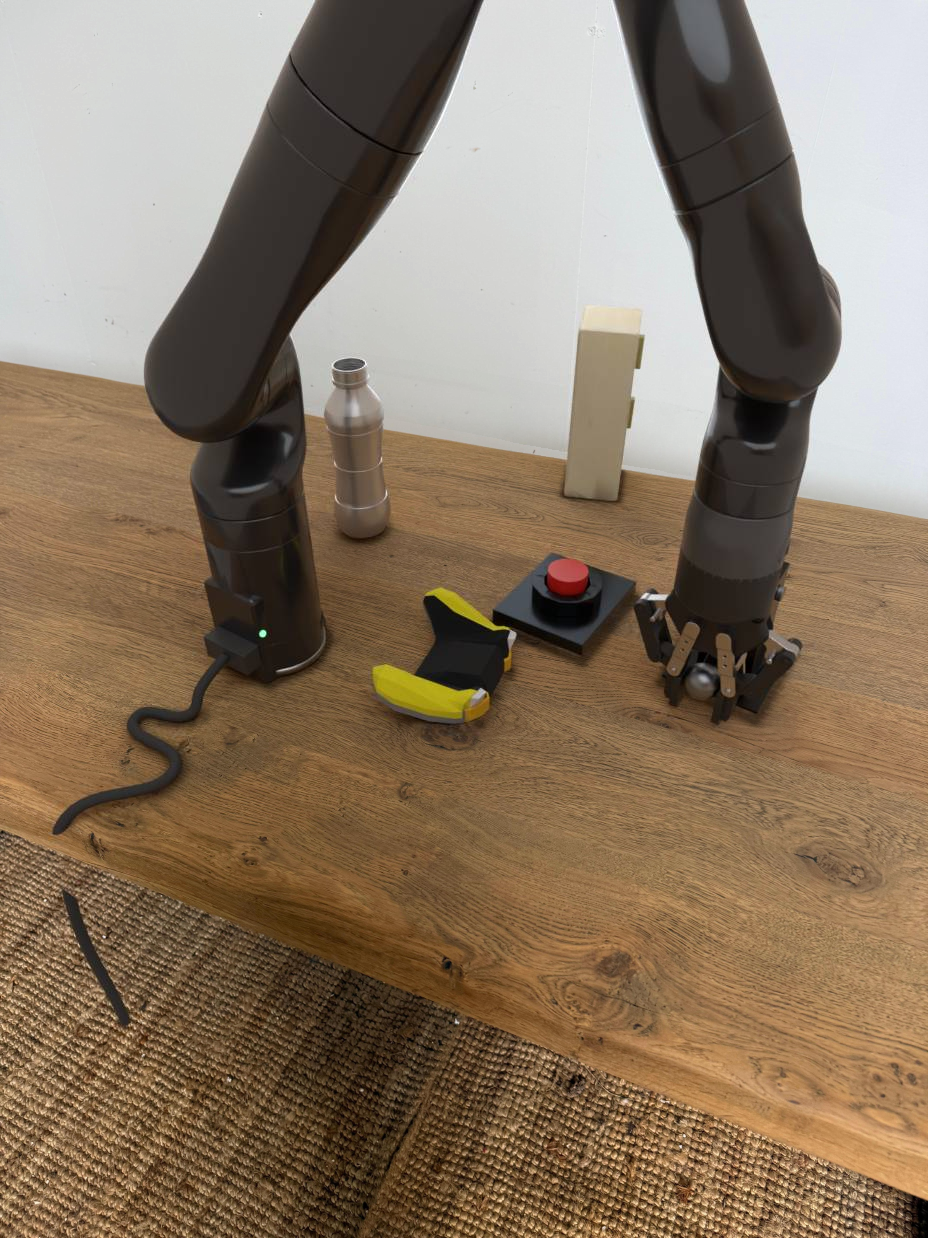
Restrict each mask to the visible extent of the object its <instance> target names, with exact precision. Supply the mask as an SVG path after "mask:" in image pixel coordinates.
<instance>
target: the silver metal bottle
mask: <svg viewBox="0 0 928 1238" xmlns="http://www.w3.org/2000/svg"><path fill="white" fill-rule="evenodd" d="M331 373H332V377H331V382H332V384H333V386H334V388H333V390H332V392H331V393H330V394H329V396H328V398H327V400H326V402H325V404H324V405H325V406H324V409H323V410H324V411H323V419H324V424H325V427H326V431H327V435H328V439H329V443H330V447H331V452H332V458H333V463H334V471H335V474H334V475H335V477H334V478H335V495H334V504H333V505H334V506H333V507H334V508H333V510H334V511H333V516H334V519H335V521H336V525H337V527H338V529H339V530H341V532H342V533H344V534H345V535H346V536H348V537H351V538H354V539H355V538H356V539H368V538H372V537H375V536H378V535H379V534H382V533H383V531H384V530H385V529H386V528H387V526H388V525H389V524H390V520H391V511H392V507H391V502H390V497H389V494H388V491H387V487H386V479H385V475H384V467H383V434H384V421H385V409H384V405H383V403H382V401H381V398H380V397H379V396H378V395H377V394H376V392H375V391H374V390H373V389H372V388H371V387H370V386H369V384H368V383H369V382H370V375H369V373H368V363H367V361H366V360H365V359H363V358H360V357H343V358H339V359H337V360H335V361H333V362H332V364H331Z"/></svg>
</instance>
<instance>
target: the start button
mask: <svg viewBox="0 0 928 1238" xmlns="http://www.w3.org/2000/svg"><path fill="white" fill-rule="evenodd" d="M585 564H586V563H584V562H582V561H581V560H578V559H574V558H570V559H559V560H556V561H554V562H552V563H551V564H550V565H549V567H548V575H547V585H548V588H549V589H550V590H551V591H553V592H556V593H559V594H561V595H576V594H579V593H582V592H584V591H585V590H586V588H587V582H588V573H589V571H588V568H587V566H586V565H585Z"/></svg>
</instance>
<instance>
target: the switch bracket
mask: <svg viewBox="0 0 928 1238" xmlns="http://www.w3.org/2000/svg"><path fill="white" fill-rule="evenodd" d="M790 565H791V562H788V561H785V560H784V563H783V566H782V570H781V574H780V578H779V581H778V585H777V589H776V593H775V596H774V600H773V604H772V608H771V618H772V621H773V623H774V622H775V619H776V614H777V611H778V608H779V605H780V602H782V601H783V599H784V596H785V594H786V591H787V586H785V583H786V579H787V576H788V572H789V570H790ZM766 650H767V648H766V646H765V645H764V644H761V645H759V646H758V647H756V648H754V649H752V650H750V651H748V652H747V656H746V659H745V673H750V674H754V672H755V671H756V670H757V669H758V668H759V667H761V666H762V665H763V664H764V663H765V662H766V659H765V656H764V655H765V652H766ZM707 654H708V653H705V652H699V651H695V650H694V652H693V654H692V656H691V658H690V659H689V661H688V663H689V664H691V666H692V665H694V664H697V663H704V660H705V658H706V656H707ZM717 669H718V668H717ZM661 676H662V678H665V679H666V677H667V669H666V668H665V670H664V671H663V673H661ZM775 684H776V682H774V683H773V684H772V685H771V686H770V687H769V688H768V689H767V690H766V691H765V692H764V693H763V694H761V695H760V696H759V697H758V698H757V699H756V700H749V699H747V698H746V697H745V696H744V695H738V699H737V703H736V707H738V708H740V709H743V710H745V711H748V712H750V713H753V714H755V715H758V714H759V712H760V710H761V709H762V707H763V705H764V704H765V702H766V700H767V698H768V696H769V695H770V692H771V691H772V689H773V688H774V686H775ZM714 698H715V699H716V696H715V697H714Z"/></svg>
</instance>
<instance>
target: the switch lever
mask: <svg viewBox="0 0 928 1238" xmlns="http://www.w3.org/2000/svg"><path fill="white" fill-rule="evenodd" d="M717 668H718V659H717V658H715V657H713V656H711V655H710V654H707V656H706V658H705V660H704V663H697V664H694V665H692V666H691V667H690V668H689V669H688V670H687V671H686V673H685V675H684V680H683V683H684V687H685V690H686V693H687V694H688V695H689V696H690V697H691V698H692V699H695V700H697V701H698V700H699V701H710V700H712V699H714V698H715V696H716V695H717V692H718V691H719V689H720V688H721V682H720V674H718V669H717Z"/></svg>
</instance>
